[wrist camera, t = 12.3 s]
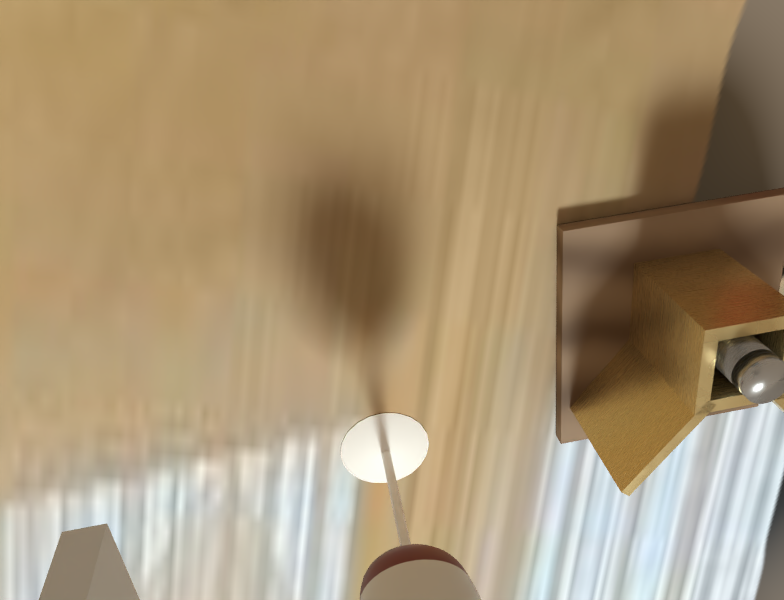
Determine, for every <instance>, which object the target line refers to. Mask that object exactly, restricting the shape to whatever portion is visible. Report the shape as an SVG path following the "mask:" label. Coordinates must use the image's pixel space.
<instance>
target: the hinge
mask: <svg viewBox="0 0 784 600" xmlns="http://www.w3.org/2000/svg"><path fill="white" fill-rule="evenodd" d="M749 335H754V336H755V337H756V338H757V339H758V340H759V341H761V342H762V343H763V344H764V345H765V346H766V347H768V348H769V349H770V350H771V351H772V352H773V353H774V354H776V355H777V356H778V357H779V358H780V359H781V360H783V361H784V296H783V295H782V294H781V293H779V292H778V291H777V290H775V289H774V288H773V287H771V286H770V285H768V284H767V283H766V282H764V281H763V280H762V279H760V278H759V277H758V276H756V275H755V274H754V273H752V272H751V271H749V270H748V269H747V268H745V267H744V266H743V265H741V264H740V263H739V262H737V261H736V260H734V259H733V258H732V257H730V256H729V255H728V254H726V253H725V252H724V251H722V250H721V249H714V250H708V251H702V252H696V253H691V254H685V255H679V256H673V257H667V258H661V259H656V260H650V261H644V262H638V263H634V274H633V290H632V305H631V320H630V336H629V340H628V341H627V342H626V344H625V345H624V346H623V347H622V348H621V349H620V350H619V352H618V353H617V354H616V355H615V356H614V357H613V358H612V360H611V361H610V362H609V363H608V364H607V365H606V366H605V368H604V369H603V370H602V371H601V372H600V373H599V374H598V376H597V377H596V378H595V379H594V380H593V381H592V383H591V384H590V385H589V386H588V387H587V388H586V389H585V391H584V392H583V393H582V394H581V395H580V396H579V397H578V399H577V400H576V401H575V402H574V403H573V404H572V405H571V407H570V409H571V411H572V412H573V414H574V416H575V417H576V419H577V421H578V422H579V424H580V425H581V427H582V429H583V430H584V432H585V434H586V435H587V437H588V439H589V440H590V442H591V443H592V445H593V447H594V448H595V450H596V452H597V453H598V455H599V457H600V458H601V460H602V461H603V463H604V465H605V466H606V468H607V470H608V471H609V473H610V475H611V476H612V478H613V479H614V481H615V483H616V484H617V486H618V488H619V489H620V491H621V492H622V493H624V494H626V495H628V496H630V495H631V493H632V492H633V491H634V490H635V489H636V488H637V487H638V486H639V485H640V484H641V483H642V482H643V481H644V480H645V479H646V478H647V477H648V476H649V475H650V474H651V473H652V472H653V471H654V470H655V469H656V467H657V466H658V465H659V464H660V463H661V462H662V461H663V460H664V459H665V458H666V457H667V456H668V455H669V454H670V453H671V452H672V451H673V450H674V449H675V448H676V447H677V446H678V445H679V444H680V443H681V442H682V440H683V439H684V438H685V437H686V436H687V435H688V434H689V433H690V432H691V431H692V430H693V429H694V428H695V427H696V426H697V425H698V424H699V423H700V422H701V421H702V420H703V419H704V418H705V417H706V416H707V414H708V413H710V412H715V411H720V410H725V409H731V408H736V407H741V406H746V405H752V404H756V403H753V402H751V401H749V400H748V399H747V398H746V397H745V396H744V395H743V394H742V393H741V392H740V391H739V390H738V389H737V388H736V387H735V386H734V385H733V384H732V383H731V382H730V381H729V380H728V379H727V378H726V377H725V376H724V375H723V374H722V373H721V372H720V371H719V370H718V369H717V368H716V367H715V362H716V355H717V348H718V341H722V340H727V339H732V338H738V337H743V336H749ZM772 402H773V403H774V404H775V405H776V406H777V407H778V408H779V409H780V410H782V411H783V412H784V393H783V394H782V395H781V396H780V397H778V398H777V399H775V400H773V401H772Z"/></svg>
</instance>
